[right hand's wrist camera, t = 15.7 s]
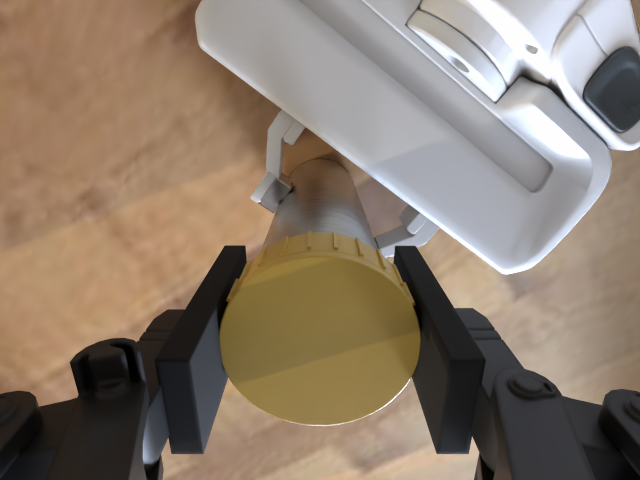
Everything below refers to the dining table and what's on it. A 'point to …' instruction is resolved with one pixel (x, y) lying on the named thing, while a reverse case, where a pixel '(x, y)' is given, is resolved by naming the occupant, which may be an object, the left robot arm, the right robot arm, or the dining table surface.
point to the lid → (320, 330)
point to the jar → (320, 205)
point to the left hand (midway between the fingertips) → (311, 236)
